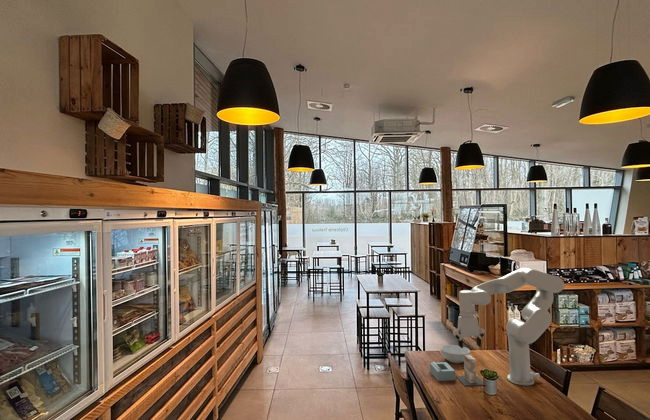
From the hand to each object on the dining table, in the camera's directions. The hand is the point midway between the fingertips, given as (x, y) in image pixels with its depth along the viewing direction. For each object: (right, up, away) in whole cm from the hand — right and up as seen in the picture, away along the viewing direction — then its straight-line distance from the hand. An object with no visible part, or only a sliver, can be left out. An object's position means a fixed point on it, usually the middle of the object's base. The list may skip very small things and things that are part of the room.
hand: (470, 346), depth 187 cm
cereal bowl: (+3, -19, +27) cm, 34 cm away
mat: (0, -18, -1) cm, 18 cm away
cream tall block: (0, -17, -1) cm, 17 cm away
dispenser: (-12, -19, +7) cm, 23 cm away
